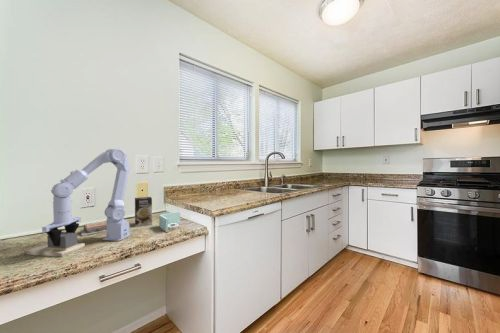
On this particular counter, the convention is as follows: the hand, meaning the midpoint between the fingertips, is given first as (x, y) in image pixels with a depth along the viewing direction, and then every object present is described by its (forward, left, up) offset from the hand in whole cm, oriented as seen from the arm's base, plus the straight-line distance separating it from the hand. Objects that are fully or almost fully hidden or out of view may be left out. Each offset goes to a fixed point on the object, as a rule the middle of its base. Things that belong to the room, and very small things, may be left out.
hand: (63, 243), depth 91 cm
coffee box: (-10, -39, -3) cm, 40 cm away
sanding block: (0, 0, -2) cm, 2 cm away
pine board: (+4, 0, -3) cm, 5 cm away
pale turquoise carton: (-30, -37, -4) cm, 48 cm away
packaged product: (+6, -26, -4) cm, 27 cm away
